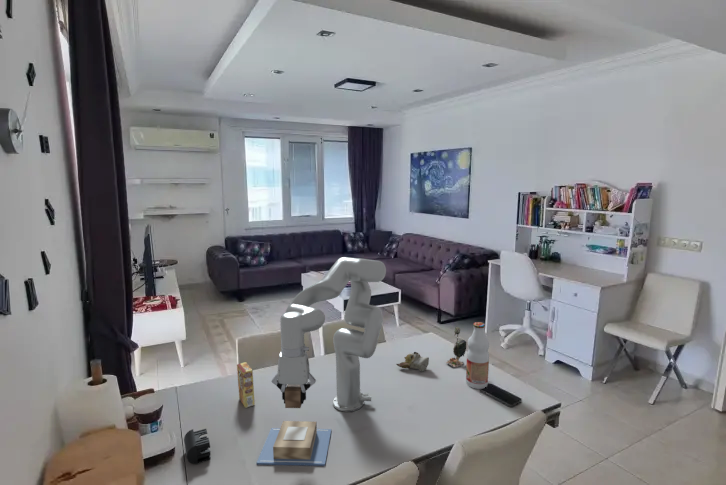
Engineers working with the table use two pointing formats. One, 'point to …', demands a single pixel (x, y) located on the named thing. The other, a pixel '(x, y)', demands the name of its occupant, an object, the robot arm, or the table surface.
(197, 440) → the end cap
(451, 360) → the plant with pod
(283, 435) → the oak base block
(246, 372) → the candy box
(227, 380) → the table surface
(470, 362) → the fruit juice
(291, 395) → the walnut block
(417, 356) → the ceramic sculpture
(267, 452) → the blueprint board
